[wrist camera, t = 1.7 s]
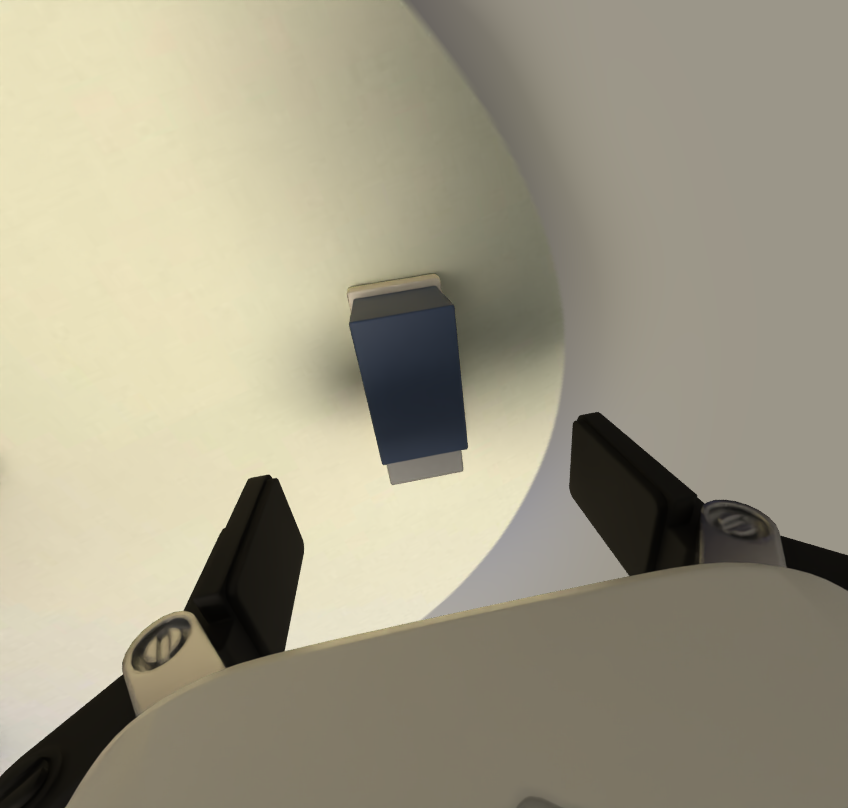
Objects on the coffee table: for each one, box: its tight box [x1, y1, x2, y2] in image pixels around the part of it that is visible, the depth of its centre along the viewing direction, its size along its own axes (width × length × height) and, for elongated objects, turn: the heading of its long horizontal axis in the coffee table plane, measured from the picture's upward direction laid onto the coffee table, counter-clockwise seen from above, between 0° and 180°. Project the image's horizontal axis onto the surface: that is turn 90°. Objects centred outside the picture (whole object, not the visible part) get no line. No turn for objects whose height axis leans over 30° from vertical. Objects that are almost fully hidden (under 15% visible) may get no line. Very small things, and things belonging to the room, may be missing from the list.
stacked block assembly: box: [347, 274, 468, 485], centre depth 17 cm, size 9×4×5 cm, turn 8°
